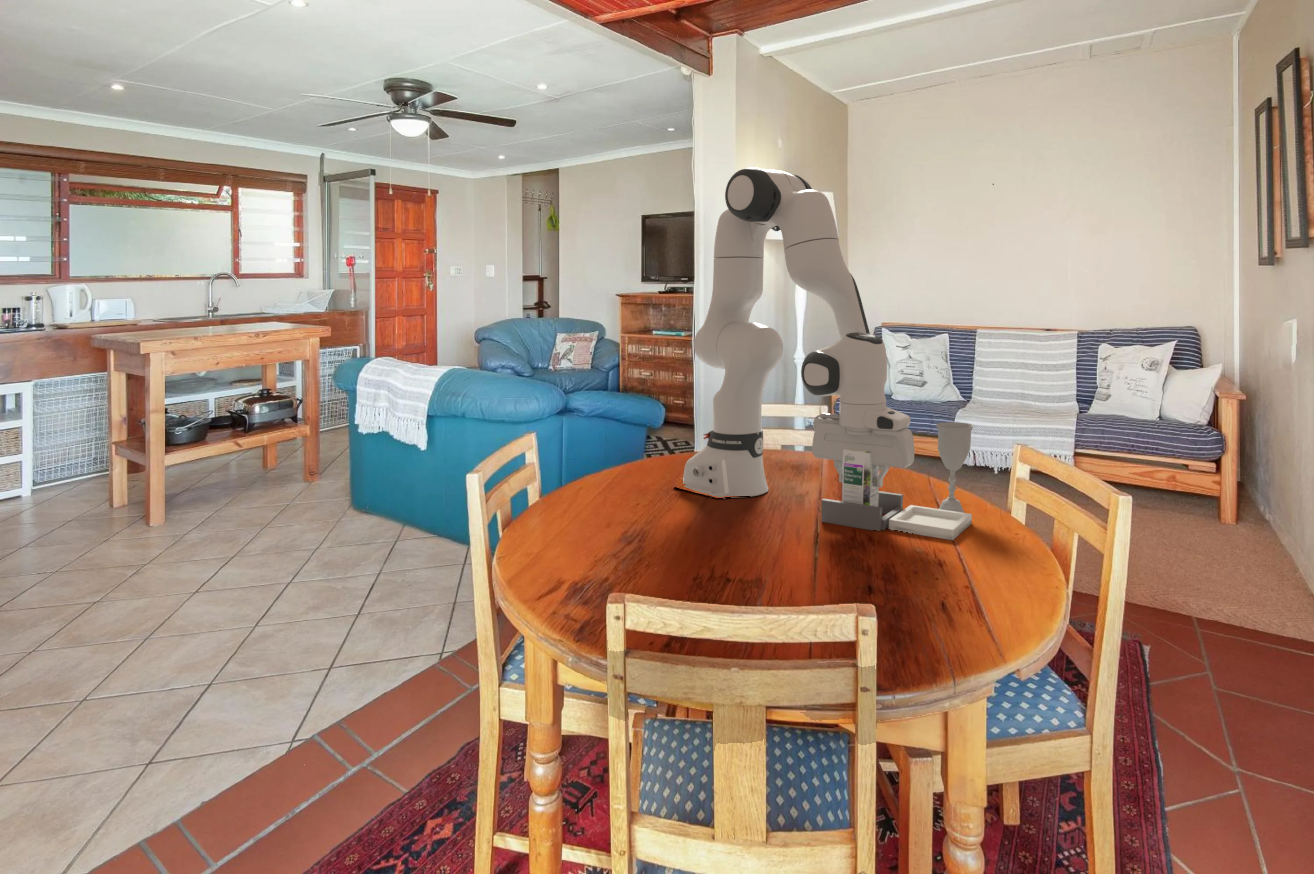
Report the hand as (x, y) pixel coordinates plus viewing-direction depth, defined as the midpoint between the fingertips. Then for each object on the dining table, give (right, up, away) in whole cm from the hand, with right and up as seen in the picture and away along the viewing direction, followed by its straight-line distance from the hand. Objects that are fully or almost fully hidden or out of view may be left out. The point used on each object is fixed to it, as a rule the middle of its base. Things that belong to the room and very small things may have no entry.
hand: (860, 484), depth 153 cm
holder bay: (0, -7, +1) cm, 7 cm away
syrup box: (0, -7, +1) cm, 7 cm away
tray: (+12, -8, -5) cm, 15 cm away
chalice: (+20, -6, +5) cm, 21 cm away
